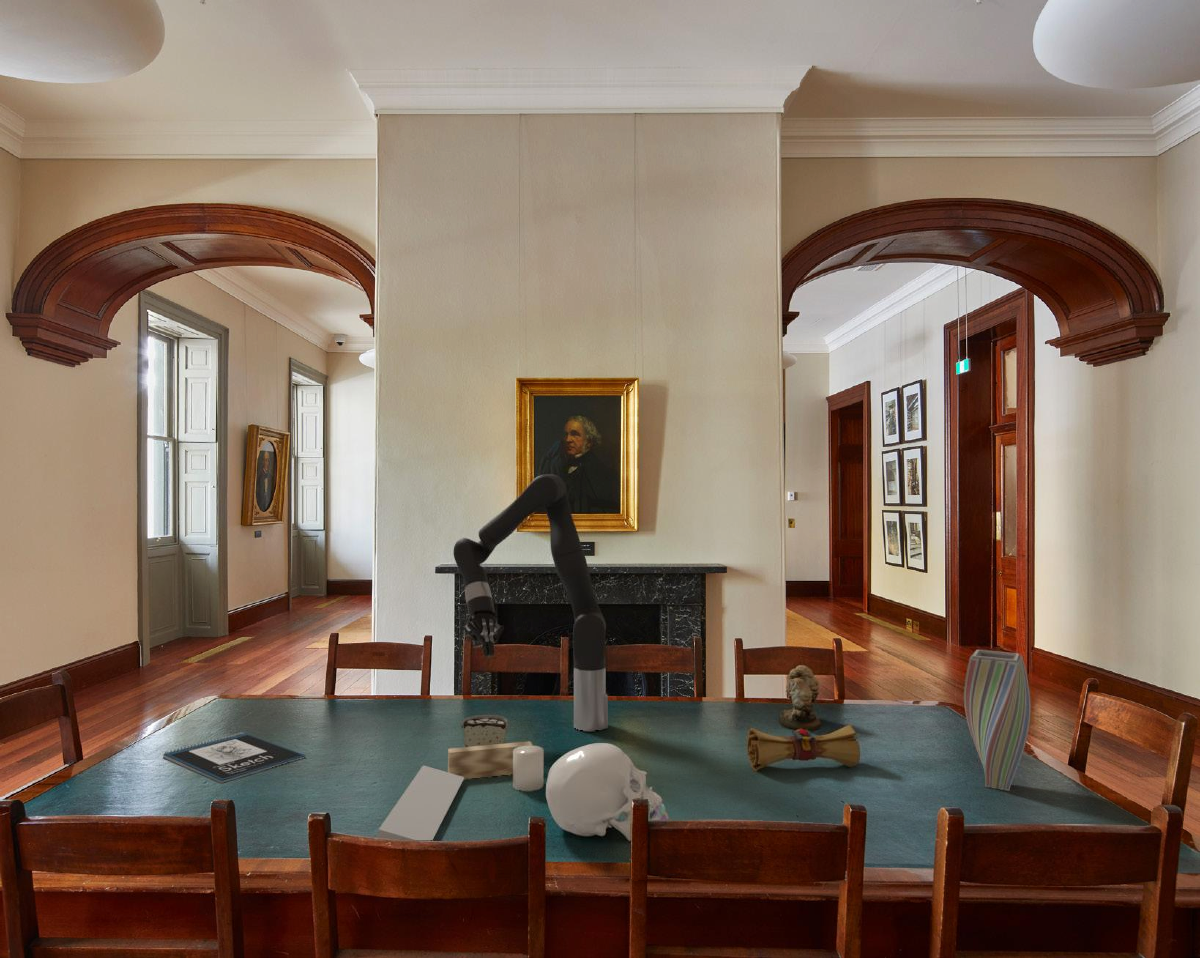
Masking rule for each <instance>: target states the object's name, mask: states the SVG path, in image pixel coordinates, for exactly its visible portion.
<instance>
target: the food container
mask: <svg viewBox="0 0 1200 958" xmlns="http://www.w3.org/2000/svg"><path fill="white" fill-rule="evenodd" d="M460 726H461V727H460V730H463V732H462V733H463V739H464V742H463V743H464V747H473V746H484V745H495V744H506V738H507V730H508V731H509V730H510V726H509V722H508V719H507V718H506V717H504V716H502V715H501V716H500V715H497V714H483V715H480V714H479V715H474V716H470V717H466V718H464V719H463V720H462V722H461V725H460Z"/></svg>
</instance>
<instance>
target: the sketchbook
mask: <svg viewBox="0 0 1200 958" xmlns="http://www.w3.org/2000/svg"><path fill="white" fill-rule="evenodd" d="M306 756H307V755H305V754H304V753H301V752H298V751H296V750H292V749H290V748H287V747H284V746H281V745H279V744H276V743H273V742H271V741H268V740H265V739H262V738H260V737H257V736H255V735H252V734H248V733H246V732H242V731H241V732H239V733H235V734H234V733H233V734H230V735H229V736H228V735H226V736H223V737H220V738H217V739H216V738H214V739H210V740H207V741H204V742H203V741H202V742H200V743H197V744H196V743H194V744H191V745H187V747H186V746H184V747H180V748H179V747H178V748H176V749H175V748H174V749H173V750H172V749H170V751H168V750H166V751H165V752H164V753H163V757H162V758H163V759H165V760H167V761H170V762H172V763H175V764H177V765H179V766H182V767H183V768H185V769H188V770H191V771H193V772H195V773H198V774H200V775H202V776H205V777H207V778H210V779H212V780H214V781H216V782H218V783H221V784H222V783H226V782H227V783H228V782H230V781H233V780H236V779H240V778H243V777H246V776H249V774H250V775H253V774H256V773H259V772H262V771H266V769H267V770H269V769H272V767H273V768H276V767H275V766H277V767H279V765H280V766H282V765H281V764H282V763H287V762H290V761H293V760H296V761H298V760H297V759H299V758H303V759H305V758H304V757H306ZM293 762H294V761H293ZM290 763H291V762H290ZM287 764H288V763H287Z"/></svg>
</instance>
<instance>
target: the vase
mask: <svg viewBox="0 0 1200 958" xmlns="http://www.w3.org/2000/svg"><path fill="white" fill-rule="evenodd" d="M966 669H967V670H966V674H965V681H964V690H963V704H964V711H965V712H964V713H965V716H966V717H965V718H966V722H967V726H968V729H969V733H970V735H971V738H972V740H973V743H974V746H975V749H976V752H977V754H978V757H979V759H980V762H981V764H982V767H983V772H984V778H985V779H984V780H985V782H984V786H985V788H991V789H997V790H1002V791H1006V792H1007V791H1008V792H1010V790H1011V785H1012V782H1013V780H1014V777H1015V776H1016V772H1017V770H1018V767H1019V764H1020V762H1021V759H1022V756H1023V753H1024V750H1025V746H1026V743H1027V739H1028V734H1029V729H1030V724H1031V723H1030V722H1031V711H1032V709H1031V706H1032V704H1031V694H1030V693H1031V692H1030V687H1029V681H1028V679H1029V678H1028V675H1027V670H1026V666H1025V662H1024V658H1023V655H1021V654H1020V653H1015V652H1005V651H995V650H986V649H985V650H984V649H976V650H975V651H974V652H973V654H971V656H970V657H969V660H968V664H967V668H966Z"/></svg>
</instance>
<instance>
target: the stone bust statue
mask: <svg viewBox="0 0 1200 958" xmlns="http://www.w3.org/2000/svg"><path fill="white" fill-rule="evenodd" d="M788 676H789V677H788V678H789V679H788V681H787V683H786V687H785V693H786V694H785V695H786V697H787V700H788V701H791V702H792V705H793V706H792V709H791V708H790V709H784V710H782V711H781V714H779V716H778V722H779V724H780V725H781V726H782V727H783V728H786V729H788V730H791V731H792V730H798V729H800V728H801V729H803V730H808V731H809V732H815V731H817V730H818V729H820V727H821V721H820V719H819V718H818V717H817V715H816V712H815V711H814V709H813V705H812V704H813V703H815V702H816V700H817V698H818V695H820V691H819V685H820V684H819V681H818V680H817V678H815V675H814V672H813V670H812V669H811V668H809V667H808V666H806V665H804V664H801V665H800V664H799V665H796V667H795V668H793V669H790V671H789V674H788Z"/></svg>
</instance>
